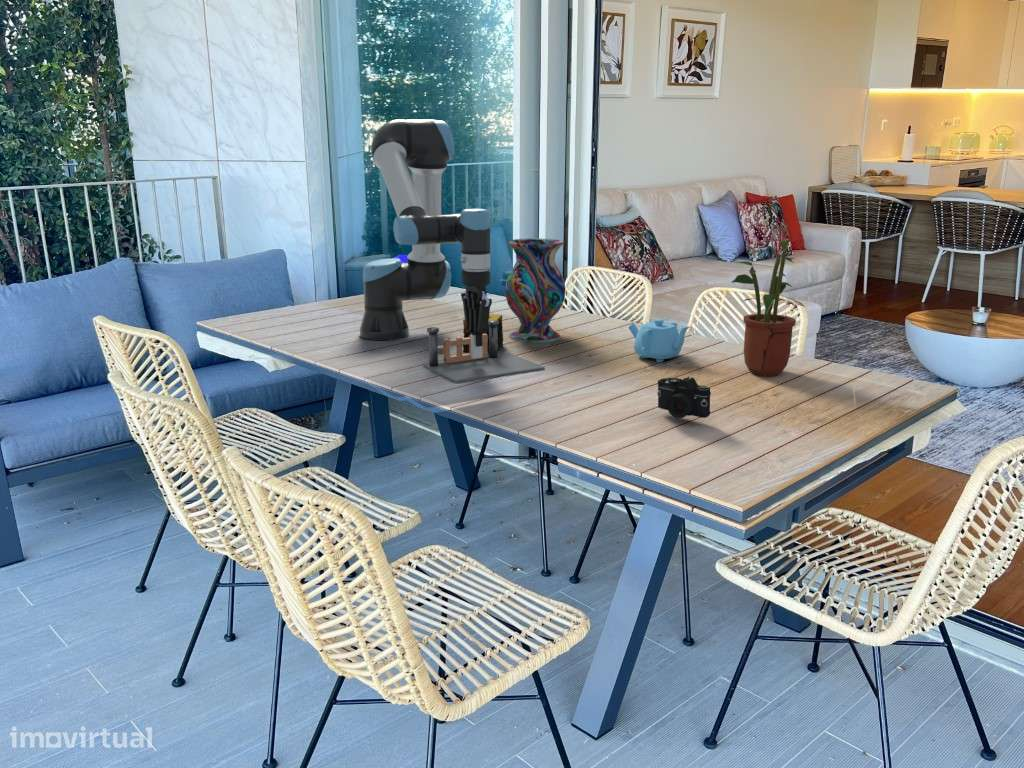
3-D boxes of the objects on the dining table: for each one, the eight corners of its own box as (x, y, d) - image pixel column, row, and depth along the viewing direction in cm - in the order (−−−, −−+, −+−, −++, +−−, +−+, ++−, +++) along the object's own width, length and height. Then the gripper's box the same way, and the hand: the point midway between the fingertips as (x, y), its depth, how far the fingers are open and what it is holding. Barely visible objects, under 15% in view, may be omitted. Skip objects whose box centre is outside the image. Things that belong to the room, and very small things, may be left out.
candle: (496, 355, 248) (496, 321, 245) (462, 353, 250) (461, 319, 247) (504, 347, 258) (504, 314, 255) (471, 345, 260) (470, 312, 257)
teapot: (680, 353, 251) (682, 314, 248) (688, 365, 238) (690, 324, 235) (627, 353, 251) (628, 314, 248) (632, 364, 238) (634, 324, 235)
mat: (423, 366, 235) (423, 364, 235) (508, 354, 249) (508, 352, 248) (455, 383, 220) (455, 380, 219) (544, 369, 233) (544, 367, 233)
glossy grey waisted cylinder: (485, 358, 244) (485, 321, 241) (495, 357, 245) (495, 319, 243) (491, 361, 241) (490, 323, 238) (501, 359, 243) (501, 321, 240)
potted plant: (791, 370, 233) (803, 238, 223) (789, 384, 219) (802, 245, 209) (725, 364, 238) (734, 236, 229) (719, 378, 224) (728, 242, 215)
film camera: (644, 414, 197) (647, 379, 190) (661, 397, 201) (664, 363, 195) (696, 437, 190) (702, 402, 184) (713, 419, 195) (718, 384, 188)
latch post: (423, 366, 236) (422, 327, 233) (444, 363, 239) (443, 324, 236) (431, 369, 232) (430, 330, 229) (452, 366, 235) (451, 327, 232)
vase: (496, 342, 264) (495, 243, 255) (518, 330, 280) (518, 236, 272) (552, 347, 257) (554, 246, 249) (572, 335, 273) (574, 239, 265)
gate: (485, 356, 243) (485, 333, 241) (487, 357, 241) (487, 334, 240) (443, 362, 236) (443, 338, 234) (446, 363, 235) (445, 339, 233)
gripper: (451, 267, 229) (453, 354, 236) (475, 273, 219) (476, 364, 225) (476, 265, 233) (477, 350, 240) (500, 271, 222) (501, 360, 229)
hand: (476, 357), depth 232 cm, fingers closed
